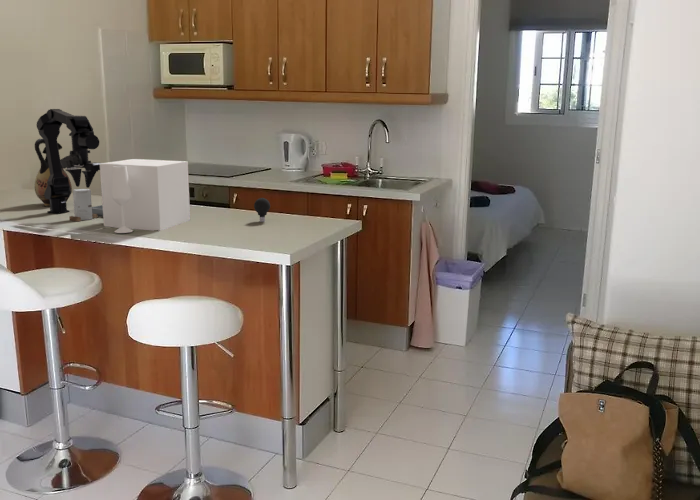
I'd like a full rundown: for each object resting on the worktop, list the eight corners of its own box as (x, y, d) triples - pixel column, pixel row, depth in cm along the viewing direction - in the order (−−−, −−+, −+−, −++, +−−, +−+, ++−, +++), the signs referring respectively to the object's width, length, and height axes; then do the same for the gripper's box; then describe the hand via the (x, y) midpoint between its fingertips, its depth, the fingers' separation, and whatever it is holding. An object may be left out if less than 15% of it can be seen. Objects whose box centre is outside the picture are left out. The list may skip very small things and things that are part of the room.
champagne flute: (113, 230, 253) (109, 165, 247) (132, 229, 255) (128, 165, 250) (115, 233, 247) (110, 167, 241) (134, 232, 249) (130, 167, 244)
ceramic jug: (60, 201, 318) (55, 137, 312) (79, 204, 310) (74, 138, 303) (25, 205, 305) (19, 138, 298) (44, 209, 296) (38, 140, 290)
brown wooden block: (69, 220, 271) (69, 216, 270) (88, 216, 279) (88, 213, 279) (78, 221, 269) (78, 217, 268) (97, 217, 277) (97, 214, 277)
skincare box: (77, 220, 270) (75, 190, 268) (74, 219, 274) (71, 189, 271) (93, 219, 274) (91, 189, 271) (89, 217, 277) (87, 188, 275)
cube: (190, 222, 273) (187, 161, 268) (160, 231, 253) (157, 166, 248) (136, 218, 280) (133, 158, 275) (104, 227, 260) (99, 163, 255)
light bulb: (273, 221, 273) (272, 197, 271) (266, 224, 267) (265, 199, 265) (258, 220, 275) (258, 196, 273) (251, 223, 269) (251, 198, 267)
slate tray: (87, 214, 284) (86, 207, 283) (112, 210, 296) (112, 203, 295) (111, 217, 278) (110, 210, 277) (136, 212, 290) (136, 206, 289)
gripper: (46, 148, 265) (50, 187, 269) (79, 150, 257) (83, 191, 260) (70, 146, 275) (72, 184, 279) (102, 148, 267) (105, 188, 270)
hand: (82, 187), depth 272 cm, fingers open, 5 cm apart
